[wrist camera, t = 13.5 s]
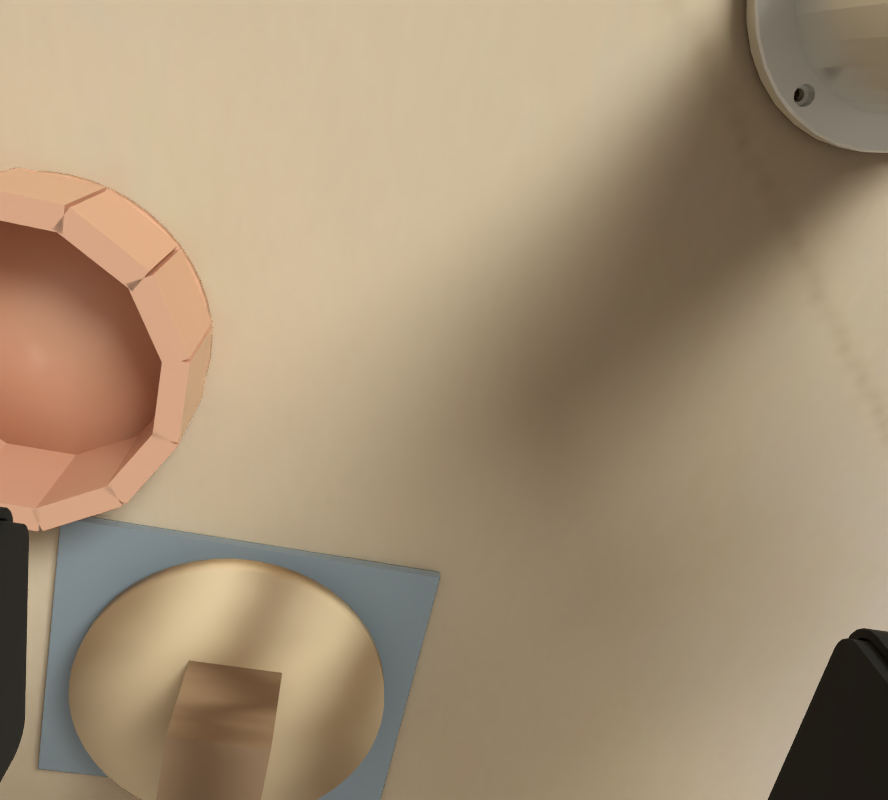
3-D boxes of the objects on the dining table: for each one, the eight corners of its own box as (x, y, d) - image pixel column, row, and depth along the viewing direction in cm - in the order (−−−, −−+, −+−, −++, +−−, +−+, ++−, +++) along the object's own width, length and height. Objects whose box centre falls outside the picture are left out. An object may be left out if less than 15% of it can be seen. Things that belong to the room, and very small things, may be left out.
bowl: (232, 209, 36) (207, 235, 30) (192, 483, 40) (163, 550, 34) (-100, 136, 34) (-194, 149, 28) (-105, 434, 38) (-186, 496, 32)
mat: (439, 572, 43) (439, 577, 42) (378, 800, 48) (378, 807, 47) (64, 512, 40) (60, 517, 39) (41, 761, 45) (38, 769, 44)
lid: (411, 573, 42) (419, 665, 35) (353, 804, 47) (350, 922, 40) (96, 524, 40) (42, 613, 33) (69, 773, 45) (18, 893, 38)
